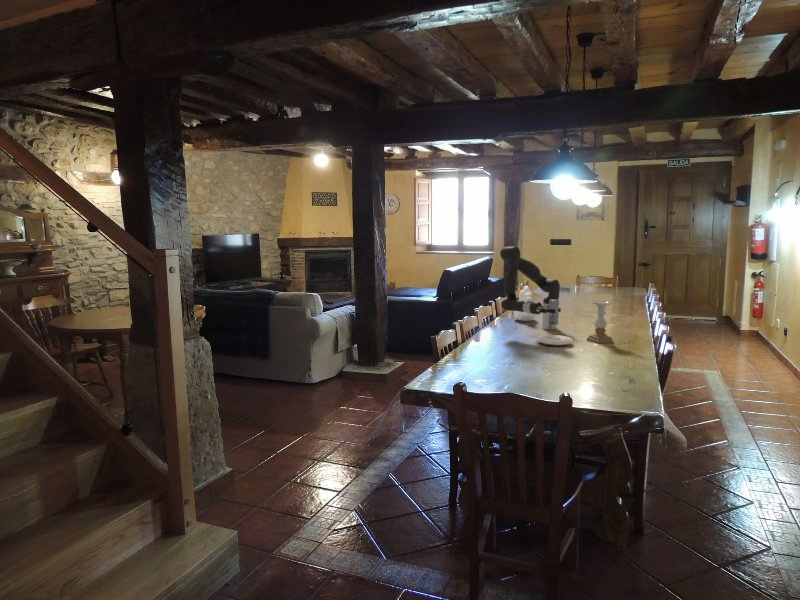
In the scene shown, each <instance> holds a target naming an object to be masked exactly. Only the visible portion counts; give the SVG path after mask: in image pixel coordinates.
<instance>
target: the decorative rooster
mask: <svg viewBox="0 0 800 600" xmlns="http://www.w3.org/2000/svg"><path fill="white" fill-rule="evenodd" d="M518 296H519V297H518V300H522V301H533V300H532V299H533V297H532V296H533V295H532V291H531V290H530V287H529V285H524V286H523V288H522V289H521V290H520V291H519V294H518ZM536 315H537V314H530V313H526V312H519V311H513V316H514V318H515V319H516V320H518V321H522V322H531V321H533V320H534V319H536Z"/></svg>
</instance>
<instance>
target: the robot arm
mask: <svg viewBox="0 0 800 600" xmlns="http://www.w3.org/2000/svg"><path fill="white" fill-rule="evenodd" d="M499 255H500V258H501V259H502V260H503V261H504V262H506V263H507V264H509V265H510V266H509V269H508V271H507V274H506V276H505V279H504V283H503V288H504V289H503V293H504V295H505V296H506V298H505V299H503V300H502V301H501V303H500V306H501V308H502V309H503V310H505V311H510V312H511V311H512V312H514V311H519V312H526V313H530V314H536V315H538V316H539V315H540V314H542V329H543V330H548V331H549V330H551V331H552V330H557V327H558V324H557V325H551V324H548V322H549V313H555V311H556V310H555V309H549V300H559V299H560V292H561V291H560V289H561V285H560V281H559V280H557V279H554V278H548V277H546V276H544V275H543V274H542V273H541V269H540V268H539V267H538V266H537V265H536V264H535V263H533V262H532V261H529V260H527V259H525V258H522V257H521V249H520V248H519V247H518V246H515V245H514V246H505V247H502V249H501V250H500V252H499ZM518 271H519V272H520V273H521V274H522V275H524V276H525V277H526V278H527V279H529V280H530V281H532V282H533V283H535V284H536V285H537V286H538V288H539V289H540V290H542V291H543V293H544V292H545V293H548V296H547V297H544V298H543V300H542V302H543V303H542V302H540V301H533V300H532V301H522V300H519V299H517V298H518V297H517V294H516V284H517V276H518V275H517V274H518ZM560 312H562V308H561V307H559V313H560Z"/></svg>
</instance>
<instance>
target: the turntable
mask: <svg viewBox="0 0 800 600" xmlns="http://www.w3.org/2000/svg"><path fill="white" fill-rule="evenodd" d="M537 342H539V343H540V344H542V343H544V344H551V345H566V344H567V345H570V344H572V343H573V338H572V337H569V336H565V335H559V334H558V335H557V334H545V335H539V336H537ZM544 344H543V345H544ZM567 345H566V346H567Z"/></svg>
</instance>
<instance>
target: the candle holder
mask: <svg viewBox="0 0 800 600" xmlns="http://www.w3.org/2000/svg"><path fill="white" fill-rule="evenodd" d="M592 304H593V305H595V306H596V307H597V308H598V309H597V311H596V314H597V318H596V319H595V320H594V324H593V325H594V327H595V329H594V331H595V333H593V334H589V335H588V336H586V342H587V341H588V342H590V341H591V343H593V342H594V344H596V343H597V344H596V345H604V344H606V345H607V344H614V339H612V337H611V336H609V335H608V334H606V332H607V331H606V328H607V327H608V322H607V320H606V319H605V315H606V311H605V309H606V307H607V306H610V305H611V304H612V303H611V301H608V300H607V301H605V300H594V301H592Z"/></svg>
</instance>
